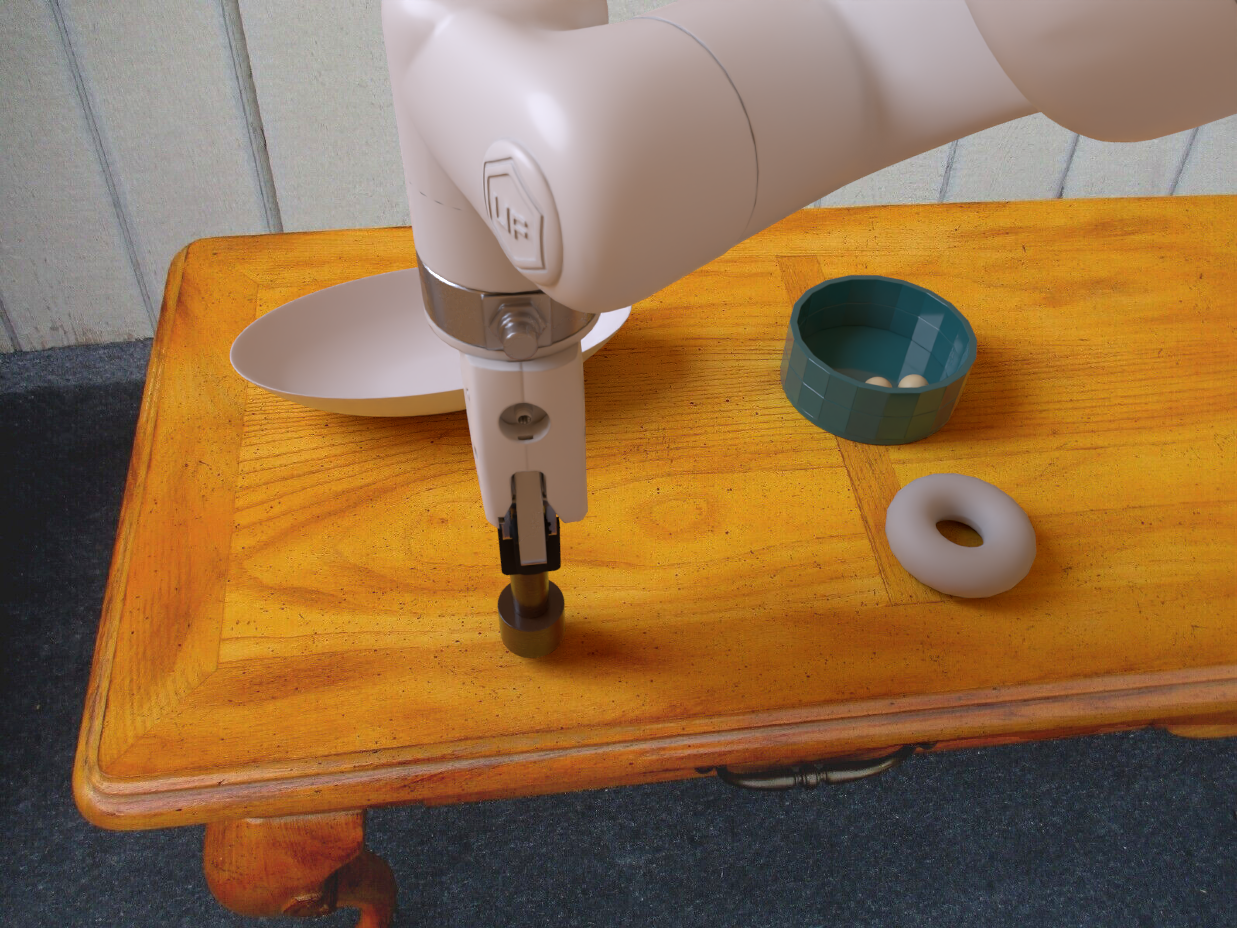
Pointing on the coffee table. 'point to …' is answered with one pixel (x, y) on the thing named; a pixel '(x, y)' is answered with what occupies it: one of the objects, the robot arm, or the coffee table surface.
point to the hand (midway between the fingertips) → (529, 545)
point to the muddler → (531, 614)
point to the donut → (947, 562)
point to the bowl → (366, 350)
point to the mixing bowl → (876, 358)
